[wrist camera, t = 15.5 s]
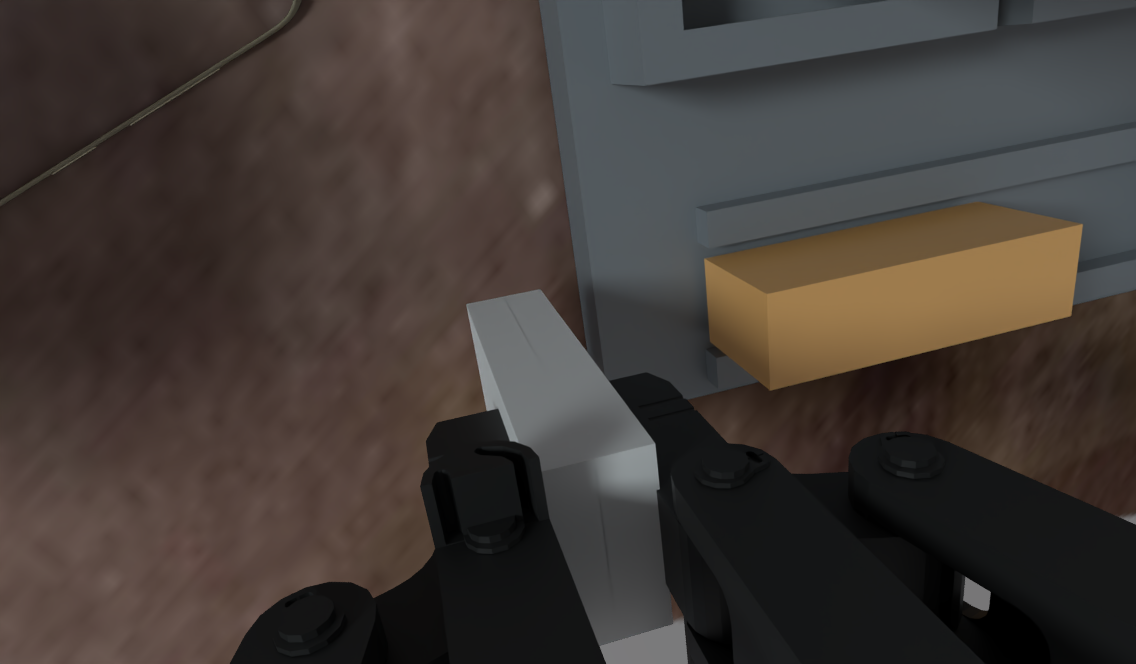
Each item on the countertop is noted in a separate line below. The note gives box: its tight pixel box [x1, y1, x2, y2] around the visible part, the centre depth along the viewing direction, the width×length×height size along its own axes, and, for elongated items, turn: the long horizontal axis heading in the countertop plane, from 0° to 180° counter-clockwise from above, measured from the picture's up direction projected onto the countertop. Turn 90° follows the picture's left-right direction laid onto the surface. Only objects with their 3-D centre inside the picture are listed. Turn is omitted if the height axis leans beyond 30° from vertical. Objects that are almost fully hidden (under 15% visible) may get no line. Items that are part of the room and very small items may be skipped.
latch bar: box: [704, 202, 1083, 391], centre depth 16 cm, size 2×7×3 cm, turn 98°
